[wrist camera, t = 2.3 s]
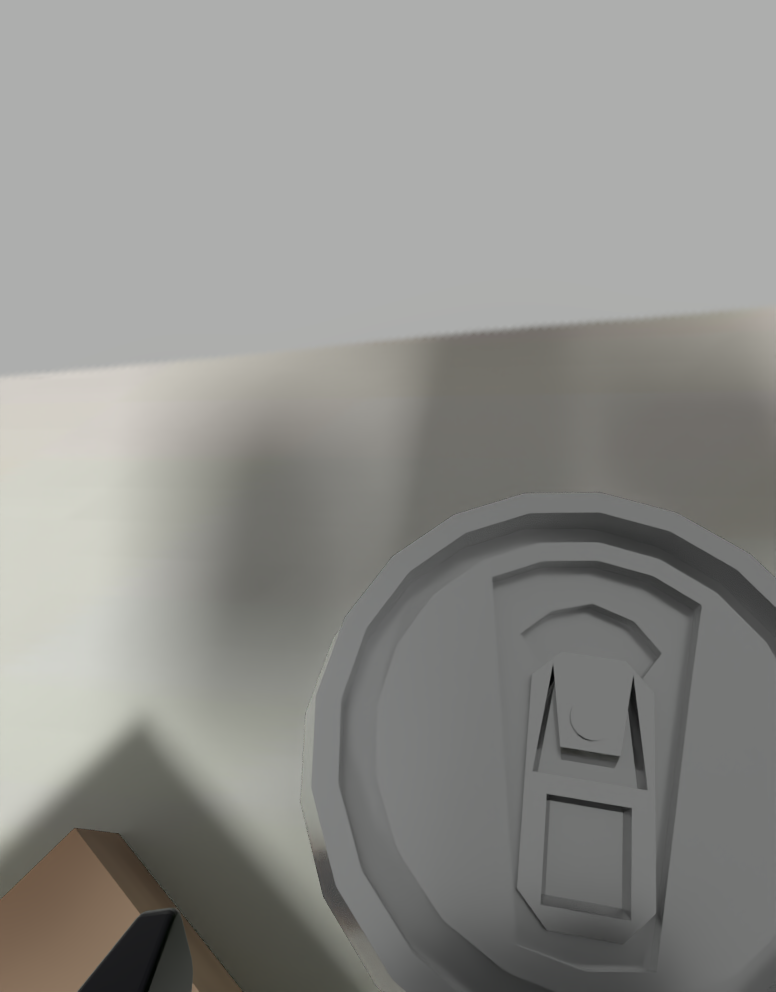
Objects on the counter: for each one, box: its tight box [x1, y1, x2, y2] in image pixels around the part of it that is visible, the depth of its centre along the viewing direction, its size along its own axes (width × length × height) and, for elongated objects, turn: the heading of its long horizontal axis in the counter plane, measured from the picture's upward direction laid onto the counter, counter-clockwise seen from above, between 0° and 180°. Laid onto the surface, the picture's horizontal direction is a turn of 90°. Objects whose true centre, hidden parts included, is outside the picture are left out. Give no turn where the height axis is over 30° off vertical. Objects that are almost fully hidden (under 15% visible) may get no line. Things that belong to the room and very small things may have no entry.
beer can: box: [300, 492, 776, 992], centre depth 12 cm, size 5×5×12 cm
